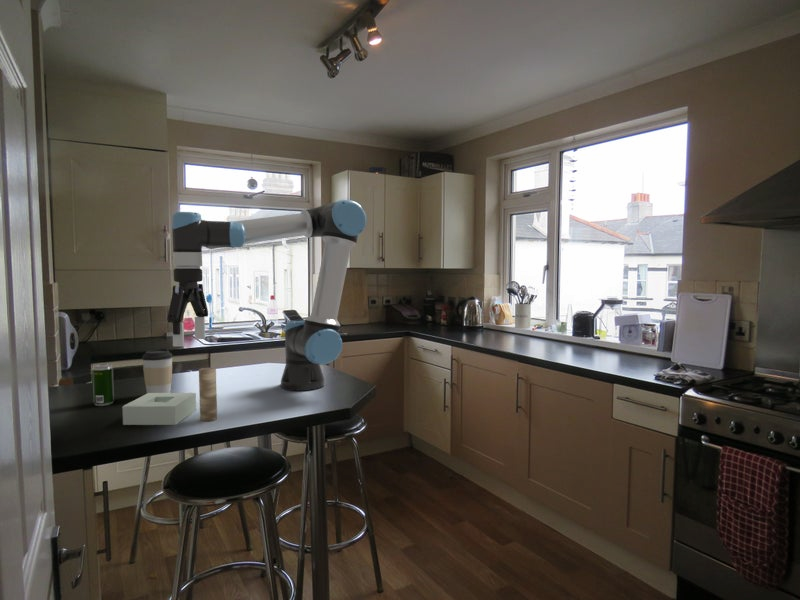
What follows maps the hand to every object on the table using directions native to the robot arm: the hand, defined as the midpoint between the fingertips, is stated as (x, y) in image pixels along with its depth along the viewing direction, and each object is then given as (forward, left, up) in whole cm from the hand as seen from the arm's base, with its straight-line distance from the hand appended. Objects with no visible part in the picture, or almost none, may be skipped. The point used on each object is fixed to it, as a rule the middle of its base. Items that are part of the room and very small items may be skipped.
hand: (189, 342), depth 144 cm
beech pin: (-7, +5, -21) cm, 22 cm away
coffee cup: (+19, -19, -21) cm, 34 cm away
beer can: (+31, -10, -21) cm, 39 cm away
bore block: (+7, +3, -21) cm, 22 cm away
